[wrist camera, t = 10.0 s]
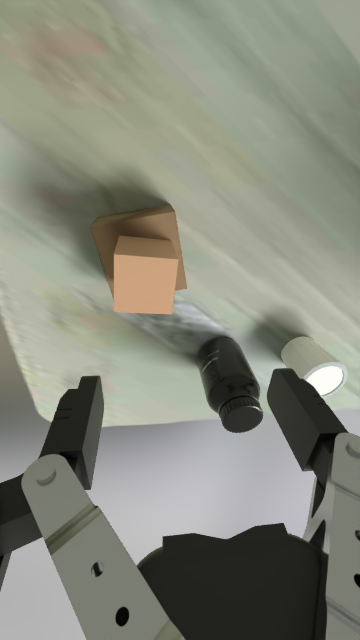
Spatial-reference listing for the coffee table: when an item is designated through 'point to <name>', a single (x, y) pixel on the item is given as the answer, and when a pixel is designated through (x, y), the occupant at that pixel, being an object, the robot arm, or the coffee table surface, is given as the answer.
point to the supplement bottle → (230, 384)
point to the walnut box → (141, 225)
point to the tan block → (144, 275)
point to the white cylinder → (314, 365)
